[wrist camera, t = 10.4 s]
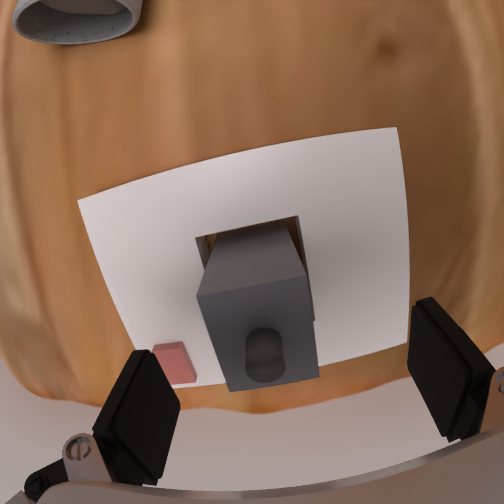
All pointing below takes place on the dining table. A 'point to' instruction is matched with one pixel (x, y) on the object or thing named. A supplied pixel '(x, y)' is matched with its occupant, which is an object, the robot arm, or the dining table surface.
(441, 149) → the dining table surface
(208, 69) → the dining table surface
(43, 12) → the ceramic mug
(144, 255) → the socket plate
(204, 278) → the plug
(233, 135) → the dining table surface
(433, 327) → the robot arm
